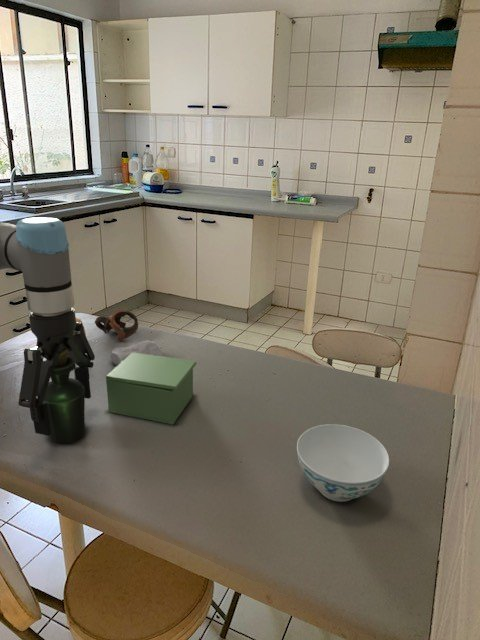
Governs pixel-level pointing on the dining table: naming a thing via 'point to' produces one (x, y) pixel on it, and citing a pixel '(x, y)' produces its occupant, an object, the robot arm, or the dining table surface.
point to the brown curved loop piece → (117, 324)
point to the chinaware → (341, 460)
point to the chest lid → (152, 370)
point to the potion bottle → (65, 402)
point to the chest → (149, 400)
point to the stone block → (135, 351)
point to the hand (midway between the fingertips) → (65, 413)
